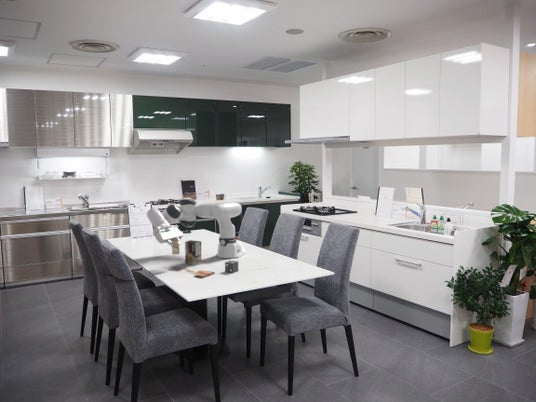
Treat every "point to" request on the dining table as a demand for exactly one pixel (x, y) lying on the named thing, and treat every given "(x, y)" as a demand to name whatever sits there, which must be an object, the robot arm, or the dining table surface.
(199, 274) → the game board
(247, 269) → the dining table surface
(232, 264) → the die
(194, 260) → the coffee box
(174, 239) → the pawn
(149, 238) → the dining table surface
